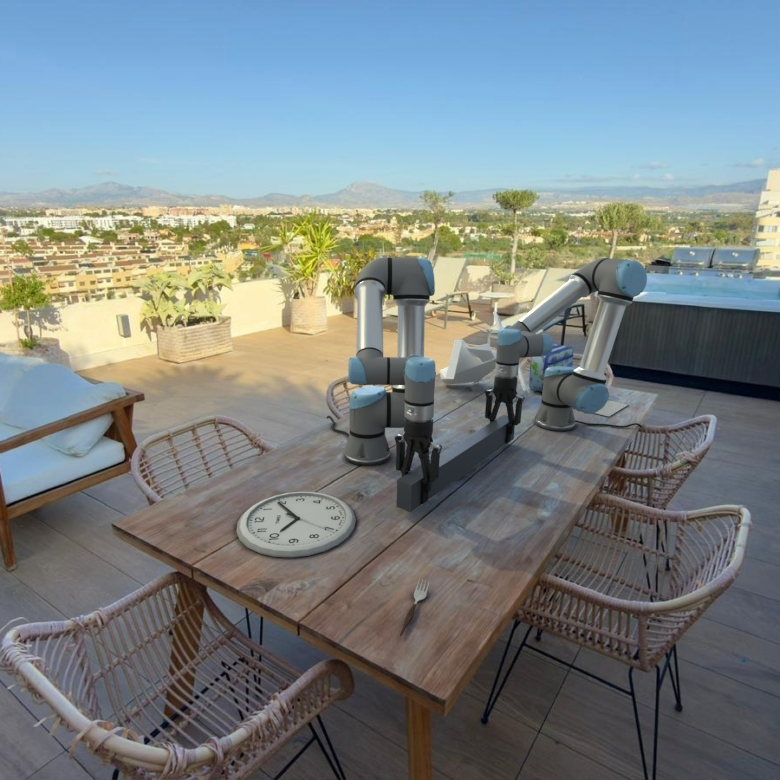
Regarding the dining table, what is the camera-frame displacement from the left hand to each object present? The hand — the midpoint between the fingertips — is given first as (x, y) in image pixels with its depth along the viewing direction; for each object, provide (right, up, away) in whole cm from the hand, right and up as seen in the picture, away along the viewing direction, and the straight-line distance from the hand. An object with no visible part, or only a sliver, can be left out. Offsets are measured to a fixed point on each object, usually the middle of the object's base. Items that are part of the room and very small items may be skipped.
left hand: (415, 498), depth 141 cm
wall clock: (-31, -5, -7) cm, 32 cm away
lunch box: (+69, +30, +109) cm, 132 cm away
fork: (-2, -15, -37) cm, 40 cm away
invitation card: (+84, +22, +85) cm, 122 cm away
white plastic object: (+35, +28, +102) cm, 111 cm away
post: (+16, +5, +20) cm, 26 cm away
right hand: (+31, +12, +40) cm, 52 cm away
